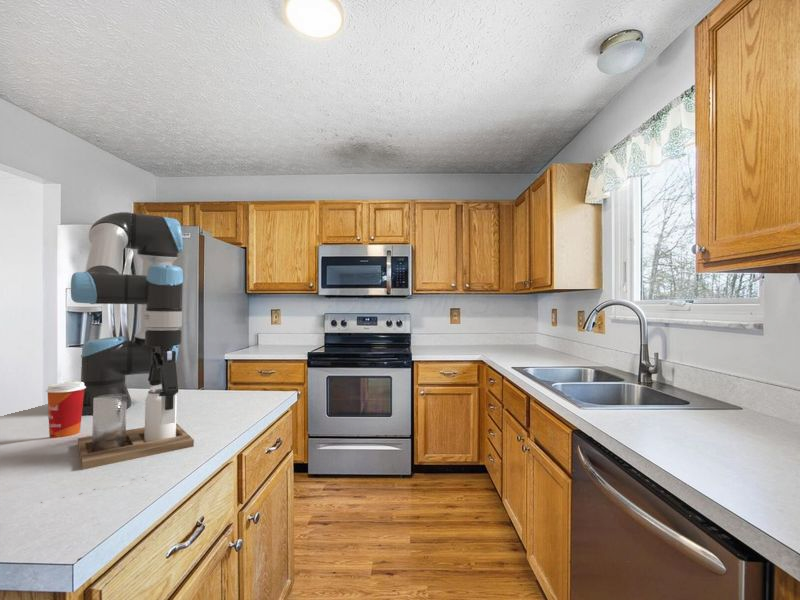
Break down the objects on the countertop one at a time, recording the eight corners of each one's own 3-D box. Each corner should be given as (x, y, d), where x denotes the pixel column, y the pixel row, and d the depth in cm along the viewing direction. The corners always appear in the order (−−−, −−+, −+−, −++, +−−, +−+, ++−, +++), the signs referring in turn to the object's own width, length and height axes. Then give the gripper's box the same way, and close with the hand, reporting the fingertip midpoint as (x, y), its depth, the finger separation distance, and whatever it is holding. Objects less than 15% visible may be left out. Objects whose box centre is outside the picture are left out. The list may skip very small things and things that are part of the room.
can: (137, 444, 90) (139, 393, 90) (155, 435, 96) (157, 387, 96) (164, 445, 89) (166, 393, 90) (181, 436, 96) (182, 388, 96)
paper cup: (45, 438, 97) (47, 383, 98) (84, 432, 102) (86, 380, 102) (42, 447, 91) (45, 388, 92) (84, 440, 96) (86, 384, 96)
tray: (77, 451, 89) (77, 438, 89) (175, 433, 103) (175, 422, 103) (82, 477, 76) (82, 461, 76) (193, 452, 89) (193, 439, 89)
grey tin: (90, 450, 86) (92, 396, 86) (123, 444, 90) (124, 392, 90) (92, 458, 82) (94, 401, 82) (127, 451, 86) (128, 397, 86)
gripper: (136, 327, 100) (134, 408, 99) (156, 332, 81) (153, 432, 81) (169, 326, 105) (167, 404, 105) (194, 331, 87) (192, 425, 86)
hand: (161, 417), depth 93 cm, fingers open, 13 cm apart
